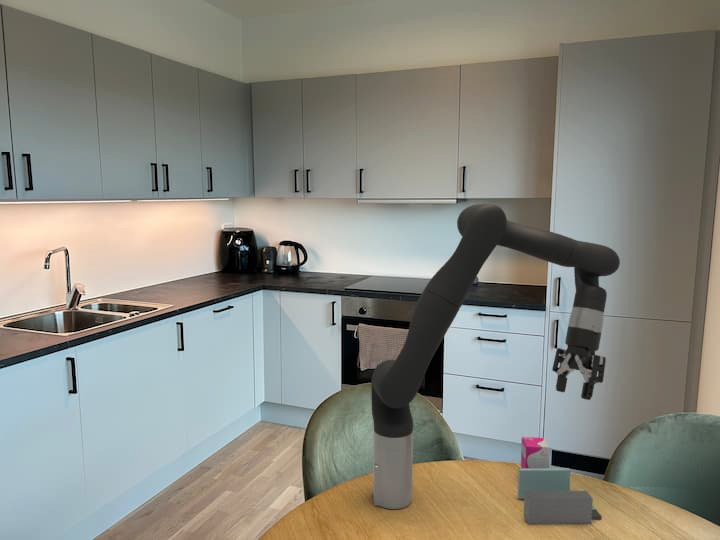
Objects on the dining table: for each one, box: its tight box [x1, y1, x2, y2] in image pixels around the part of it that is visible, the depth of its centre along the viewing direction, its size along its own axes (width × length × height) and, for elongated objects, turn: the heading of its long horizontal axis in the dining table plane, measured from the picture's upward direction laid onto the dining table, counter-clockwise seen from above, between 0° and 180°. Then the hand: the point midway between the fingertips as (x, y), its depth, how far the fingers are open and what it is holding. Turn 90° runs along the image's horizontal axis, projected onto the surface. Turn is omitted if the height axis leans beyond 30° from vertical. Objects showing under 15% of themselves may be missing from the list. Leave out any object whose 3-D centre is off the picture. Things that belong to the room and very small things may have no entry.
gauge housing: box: [523, 490, 603, 525], centre depth 121 cm, size 17×10×6 cm, turn 91°
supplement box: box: [520, 436, 551, 468], centre depth 132 cm, size 6×6×12 cm
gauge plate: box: [517, 467, 571, 500], centre depth 125 cm, size 16×1×7 cm, turn 91°
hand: (572, 395), depth 125 cm, fingers open, 8 cm apart
